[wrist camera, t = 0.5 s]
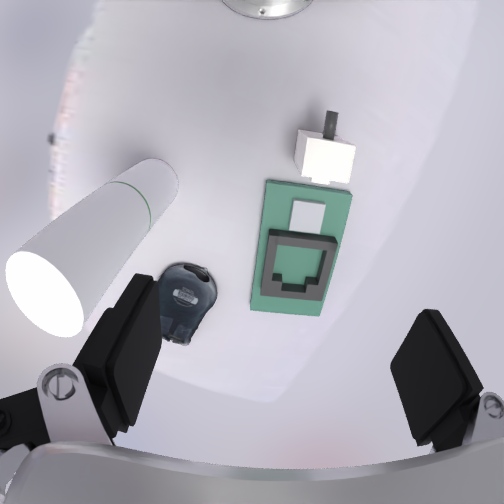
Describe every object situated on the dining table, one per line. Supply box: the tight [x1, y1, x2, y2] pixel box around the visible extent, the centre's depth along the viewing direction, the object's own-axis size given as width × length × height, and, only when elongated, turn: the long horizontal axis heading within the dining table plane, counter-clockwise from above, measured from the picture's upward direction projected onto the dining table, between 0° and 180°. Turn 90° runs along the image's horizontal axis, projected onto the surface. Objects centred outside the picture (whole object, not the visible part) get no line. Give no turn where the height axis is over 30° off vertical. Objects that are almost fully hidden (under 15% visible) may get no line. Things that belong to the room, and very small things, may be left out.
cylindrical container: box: [6, 159, 178, 337], centre depth 27 cm, size 7×7×25 cm
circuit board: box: [250, 180, 353, 316], centre depth 41 cm, size 20×11×4 cm, turn 174°
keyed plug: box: [294, 111, 356, 185], centre depth 31 cm, size 8×5×8 cm, turn 174°
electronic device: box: [158, 265, 217, 346], centre depth 46 cm, size 9×6×15 cm
